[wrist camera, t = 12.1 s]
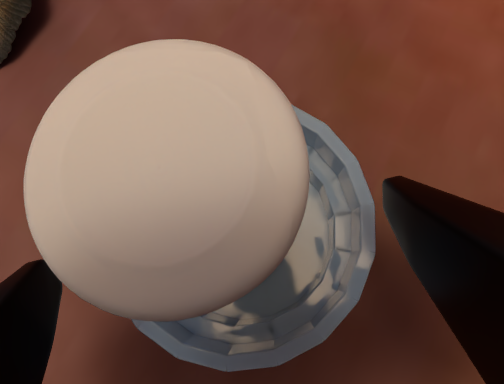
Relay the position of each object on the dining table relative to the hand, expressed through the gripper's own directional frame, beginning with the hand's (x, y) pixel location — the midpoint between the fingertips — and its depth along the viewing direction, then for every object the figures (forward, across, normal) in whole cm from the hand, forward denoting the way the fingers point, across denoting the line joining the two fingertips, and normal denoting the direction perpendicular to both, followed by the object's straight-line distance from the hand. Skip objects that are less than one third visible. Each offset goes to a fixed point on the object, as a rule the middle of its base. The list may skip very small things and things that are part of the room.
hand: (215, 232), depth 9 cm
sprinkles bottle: (+7, 0, +6) cm, 9 cm away
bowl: (+8, 0, +6) cm, 10 cm away
